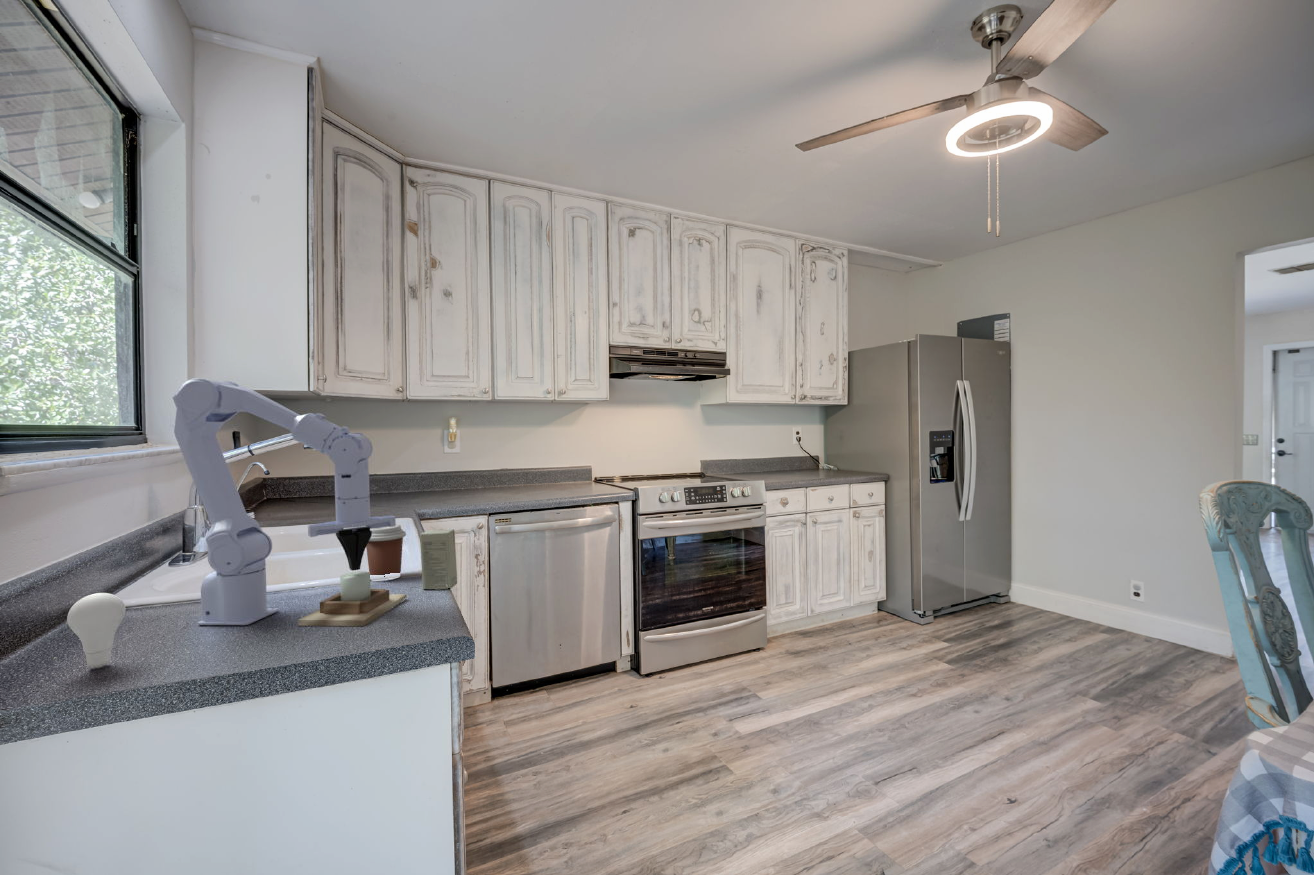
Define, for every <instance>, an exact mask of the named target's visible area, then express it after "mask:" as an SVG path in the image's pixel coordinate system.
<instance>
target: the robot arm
mask: <svg viewBox="0 0 1314 875" xmlns="http://www.w3.org/2000/svg"><path fill="white" fill-rule="evenodd" d="M172 400H173V402H174V404H175V408H176V412H175V421H174V429H173V430H174V431H173V432H174V436H175V439H176V441H177V443H178V447H179V449H180V452H181V454H182V457H183V459H184V460H185V463H186V464H185V465H186V466H187V468H188V470H189V474H190V476H191V478H192V480H193V483H194V485H195V486H194V487H195V488H196V490H197V493H198V495H199V498H200V500H201V503H202V505H203V508H204V510H205V512H206V515H207V517H208V521H209V522H210V525H211V526H210V528H209V531H208V532H207V534H206V537H205V541H206V544H207V548H208V550H207V561H208V564H209V566H210V567H211V569H212V570H213V571H211V572H210V573H208V574H207V575H206V576H205V577H204V579H203V580H202V584H201V585H200V607H201V608H200V610H201V620H200V621H197V625H199V626H247V625H251V624H254V623H256V622H257V621H260V620H261V619H263V618H267V617H268V616H270V615H273V614H274V613H275V614H276V613H277V612H279V611H280V608H279V607H273V608H271V607H268V597H267V594H268V592H267V571H266V570H267V566H266V565H267V563H266V559H267V558H268V557H269V556H270V554H271V552H272V551H273V550H272V549H273V542H272V539H271V537H270V536H269V535H268V534H267V533H266V531H264V530H263V529H262V528H261V525H260V523H259V522H258V521H257V519H255V518H253V517H252V516H250V515H249V514H248V513H247V511H246V509H245V508H246V507H245V506H244V503H243V500H242V498H241V496H240V493H239V491H238V489H237V486H236V483H235V481H234V478H233V476H232V472H231V471H230V469H229V466H228V463H227V461H226V459H225V457H224V454H223V451H222V449H221V446H220V444H219V441H218V439H217V437H216V436H217V434H218V433H219V431H220V429H222V427H223V425H224V424H225V423H227V422H228V421H230V420H231V419H232V418H233V417H234V416H236V415H237V414H238V413H239V412H242V413H243V412H244V413H245V412H246V413H249V414H251V415H254V416H256V417H258V418H261V419H263V420H265V421H268V422H270V423H273V424H275V425H277V426H279V427H281V428H284V429H286V430H289V431H290V434H291V438H292V439H293V440H294V441H296V442H298V443H301V444H302V445H304V446H306V447H309V448H310V449H313V450H314V451H315V450H316V451H317V452H319V453H321V454H324V455H326V456H328V458H329V459H330V460H331V461H332V462H333V464H334V497H335V498H334V501H335V504H334V505H335V506H334V507H335V520H334V521H328V522H321V523H314V524H308V525H307V535H308V537H310V538H313V537H318V536H323V535H333V534H335V536H336V538H337V540H338V542H339V544H340V545H341V547H342V549H343V551H344V554H345V556H346V559H347V561H348V562H347V563H348V568H349V570H351V571H353V572H354V571H359V570H361V565H362V560H363V557H364V553H365V550H366V546H367V544H368V542H369V540H370V538H371V535H372V531H370V529H373V528H381V527H394V526H396V524H397V523H396V516H394V515H385V516H383V515H382V516H371V505H370V504H371V502H370V501H371V500H370V495H371V494H370V472H369V470H370V469H369V459H370V457H371V455H372V454H373V445H372V442H371V440H370V439H369V438H368V437H367V436H365V435H364V434H363V433H362V432H353V433H352V432H351V433H350V428H349V427H347V426H345V425H343V426H342V427H341V426H339V425H337V424H335V423H333V422H332V421H329V420H327V419H326V417H327V416H326V415H325V414H322V413H321V412H319V413H318V412H317V413H313V412H308V413H306V414H302V415H301V414H299V413H297V412H295V411H293V410H291V409H289V408H287V407H286V406H284V405H282V404H280V403H278V402H277V401H274V400H272V399H271V398H269V397H267V396H265V395H262V394H261V393H259V392H257V391H256V390H253V389H252V388H248V387H246V386H242V385H239V384H237V383H236V382H232V381H218V380H211V379H207V378H203V377H202V378H201V377H193V378H191V379H188V380H187V381H184V382H183V384H181V385H180V387H179V388H178V390H177V391H176V392H175V394H174V395H173V396H172Z"/></svg>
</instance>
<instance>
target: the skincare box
mask: <svg viewBox="0 0 1314 875" xmlns="http://www.w3.org/2000/svg"><path fill="white" fill-rule="evenodd" d="M419 540H420V541H419V542H420V544H419V545H420V558H421V562H420V564H421V579H422V590H423V589H435V590H451V589H453V588H454V587H455V586H456V585H457V584H458V573H457V571H458V570H457V556H456V554H457V552H456V550H457V548H456V533H455V529H454V528H453V529H438V530H437V529H435V530H432V529H431V530H426V531H424V532H422V533H419ZM446 584H447V585H448V587H447V586H446ZM448 588H450V589H448Z"/></svg>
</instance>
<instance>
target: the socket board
mask: <svg viewBox="0 0 1314 875" xmlns="http://www.w3.org/2000/svg"><path fill="white" fill-rule="evenodd" d="M405 598H407V594H405V593H404V594H403V593H402V594H401V593H399V594H397V593H395V594H393V593H392V594H390V589H385V588H371V597H369V598H367V599H366V600H364V601H341V591H340V592H338V593H336V594H334V595H332V596H330V597H328V598H326V599H323V600H322V601H320V602H319V609H317V610H315V611H313V612H311V613H310V614H307V615H304V616H303V617H300V619H297V625H298V626H304V627H305V626H307V627H309V626H311V627H312V626H313V627H317V626H318V627H319V626H320V627H322V626H323V627H328V626H329V627H331V626H333V627H334V626H335V627H365V626H366V625H368V624H370V623H371V622H373V621H374V620H377V618H379V617H381V616H383V615H384V614H386V613H387V612H388V611H390V610H392V609H393V608H395V607H397V606H398V605H400V604H401V603H403V602H404V601H403V600H404V599H405ZM402 601H403V602H402ZM400 602H401V603H400ZM399 603H400V604H399ZM397 604H398V605H397ZM396 605H397V606H396ZM394 606H395V607H394ZM392 607H393V608H392ZM391 608H392V609H391Z"/></svg>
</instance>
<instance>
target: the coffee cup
mask: <svg viewBox="0 0 1314 875" xmlns="http://www.w3.org/2000/svg"><path fill="white" fill-rule="evenodd" d="M401 526H402V525H400V524H398V523H396V526H394V527H381V528H373V529H370V531H372V535H371V538H370V540H369V542H368V544H367V546H366V548H365V550H366V555H367V563H368V564H367V565H368V572H370V575H385V574H390V573H400V572H401V573H402V556H403V541H404V537H406V536H407V533H406V531H405V530H403V529H402V527H401ZM384 577H385V576H384Z"/></svg>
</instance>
